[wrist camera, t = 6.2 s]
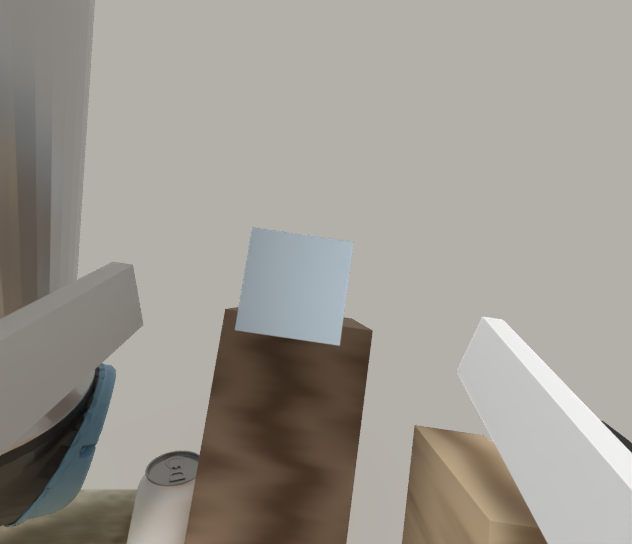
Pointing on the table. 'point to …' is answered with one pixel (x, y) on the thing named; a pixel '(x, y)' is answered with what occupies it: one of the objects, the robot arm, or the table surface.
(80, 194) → the robot arm
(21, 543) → the table surface
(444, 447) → the oak step
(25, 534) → the table surface
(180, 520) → the can
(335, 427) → the walnut block
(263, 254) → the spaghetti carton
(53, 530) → the table surface
